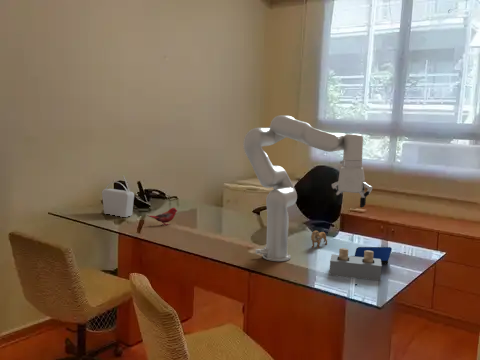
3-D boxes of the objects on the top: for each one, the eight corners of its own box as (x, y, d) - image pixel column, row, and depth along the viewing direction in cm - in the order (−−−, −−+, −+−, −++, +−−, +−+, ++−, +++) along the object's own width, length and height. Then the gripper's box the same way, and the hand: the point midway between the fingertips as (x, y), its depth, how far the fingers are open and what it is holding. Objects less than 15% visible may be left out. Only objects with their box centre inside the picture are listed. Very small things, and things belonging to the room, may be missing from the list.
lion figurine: (318, 250, 234) (319, 232, 233) (308, 248, 237) (309, 230, 236) (328, 243, 247) (329, 226, 246) (318, 242, 250) (319, 225, 249)
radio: (136, 216, 298) (136, 176, 295) (126, 218, 291) (126, 177, 288) (111, 211, 310) (111, 172, 307) (101, 213, 303) (100, 174, 300)
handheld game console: (381, 259, 224) (382, 239, 223) (391, 268, 211) (393, 247, 210) (347, 258, 223) (348, 238, 222) (355, 267, 210) (356, 246, 209)
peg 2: (363, 266, 197) (364, 252, 197) (363, 264, 201) (364, 250, 200) (372, 267, 197) (373, 253, 196) (372, 265, 200) (373, 250, 199)
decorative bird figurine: (178, 225, 279) (178, 207, 277) (147, 226, 272) (147, 209, 271) (177, 224, 281) (177, 207, 280) (146, 225, 275) (146, 208, 273)
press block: (329, 275, 198) (330, 260, 197) (331, 267, 208) (331, 254, 207) (380, 280, 193) (381, 265, 192) (379, 272, 203) (380, 258, 202)
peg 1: (338, 264, 200) (339, 250, 199) (338, 261, 203) (339, 247, 202) (347, 265, 199) (348, 250, 198) (347, 262, 202) (348, 248, 202)
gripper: (328, 163, 200) (327, 204, 202) (369, 166, 190) (368, 209, 192) (336, 162, 206) (335, 202, 208) (376, 164, 196) (374, 206, 199)
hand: (350, 205), depth 200 cm, fingers open, 9 cm apart
